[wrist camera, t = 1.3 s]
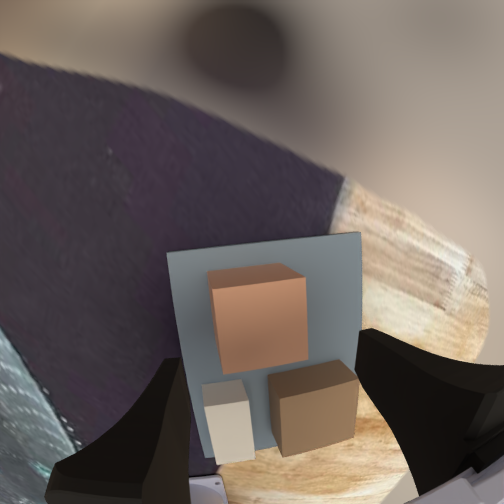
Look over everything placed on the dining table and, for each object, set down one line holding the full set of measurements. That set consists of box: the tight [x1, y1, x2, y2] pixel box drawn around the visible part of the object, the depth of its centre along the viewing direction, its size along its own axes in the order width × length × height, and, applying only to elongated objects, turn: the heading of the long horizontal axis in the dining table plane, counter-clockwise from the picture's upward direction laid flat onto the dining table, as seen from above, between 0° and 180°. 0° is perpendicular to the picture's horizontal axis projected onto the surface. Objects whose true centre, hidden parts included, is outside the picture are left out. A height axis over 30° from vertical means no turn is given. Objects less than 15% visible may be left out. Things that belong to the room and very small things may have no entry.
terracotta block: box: [207, 263, 308, 375], centre depth 19 cm, size 5×5×5 cm
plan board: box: [167, 232, 362, 465], centre depth 21 cm, size 18×14×4 cm
